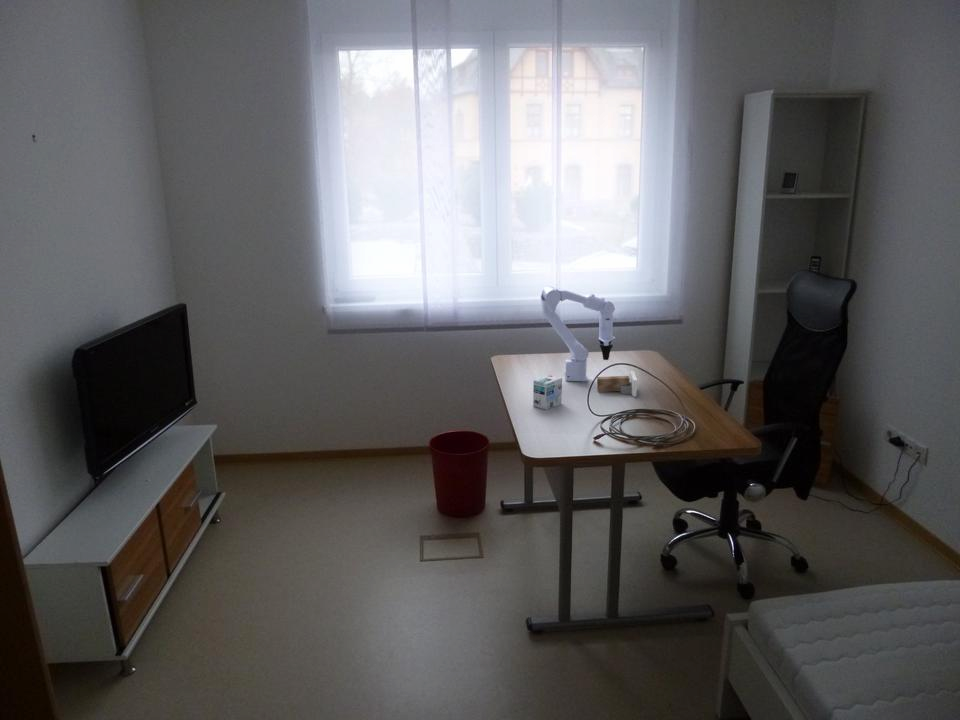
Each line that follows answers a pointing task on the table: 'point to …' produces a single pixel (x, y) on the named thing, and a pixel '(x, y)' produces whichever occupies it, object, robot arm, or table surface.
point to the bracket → (630, 385)
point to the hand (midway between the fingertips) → (605, 357)
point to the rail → (612, 383)
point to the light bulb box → (547, 392)
